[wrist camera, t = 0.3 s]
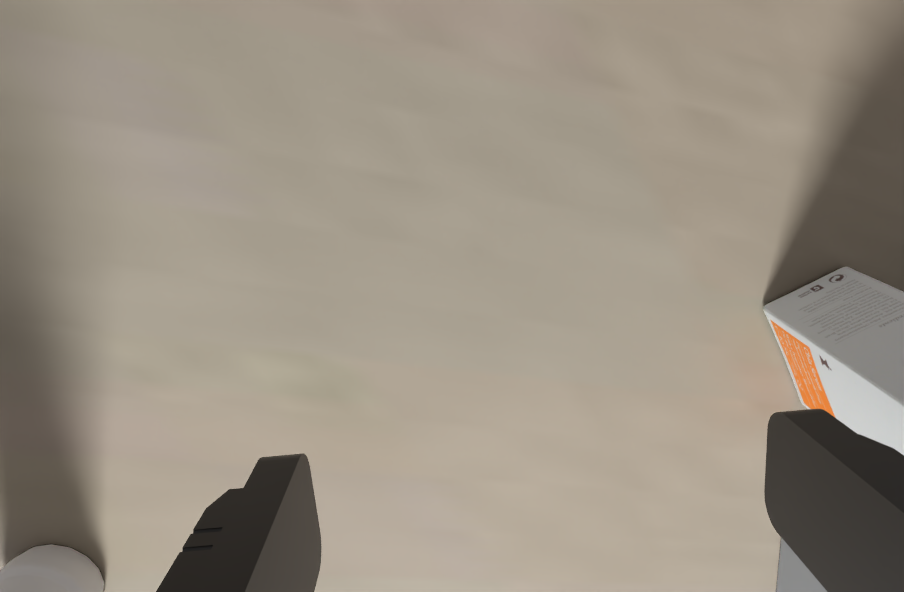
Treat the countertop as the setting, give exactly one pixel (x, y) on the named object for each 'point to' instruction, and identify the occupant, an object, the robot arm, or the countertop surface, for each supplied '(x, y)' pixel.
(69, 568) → the bottle
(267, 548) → the robot arm
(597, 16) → the countertop surface
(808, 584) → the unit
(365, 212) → the countertop surface
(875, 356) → the skincare box
